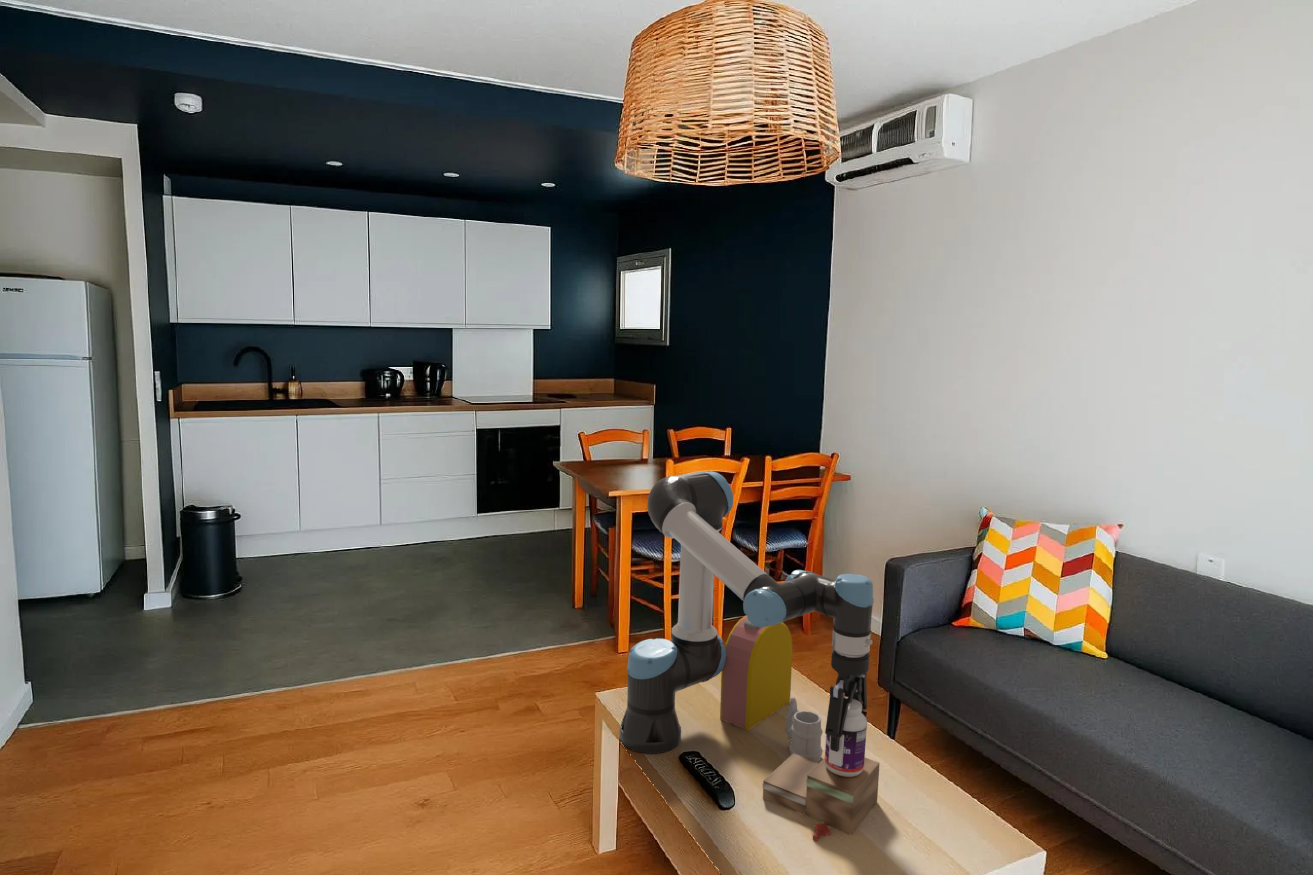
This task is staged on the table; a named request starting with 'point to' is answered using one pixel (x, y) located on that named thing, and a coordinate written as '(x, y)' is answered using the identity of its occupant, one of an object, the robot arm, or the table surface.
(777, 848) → the table surface
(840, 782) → the step stand
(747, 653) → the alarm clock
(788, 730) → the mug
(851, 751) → the pill bottle
